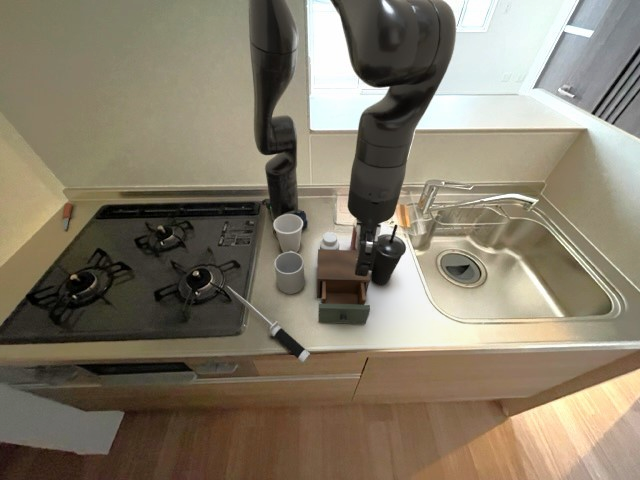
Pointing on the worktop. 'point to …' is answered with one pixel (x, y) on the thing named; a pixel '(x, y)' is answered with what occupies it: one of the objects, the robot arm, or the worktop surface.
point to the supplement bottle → (329, 241)
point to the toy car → (299, 214)
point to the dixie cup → (288, 232)
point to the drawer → (343, 303)
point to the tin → (354, 237)
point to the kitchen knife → (66, 214)
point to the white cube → (385, 229)
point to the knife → (278, 333)
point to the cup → (289, 272)
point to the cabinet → (338, 268)
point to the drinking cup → (387, 257)
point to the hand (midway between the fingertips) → (361, 257)
